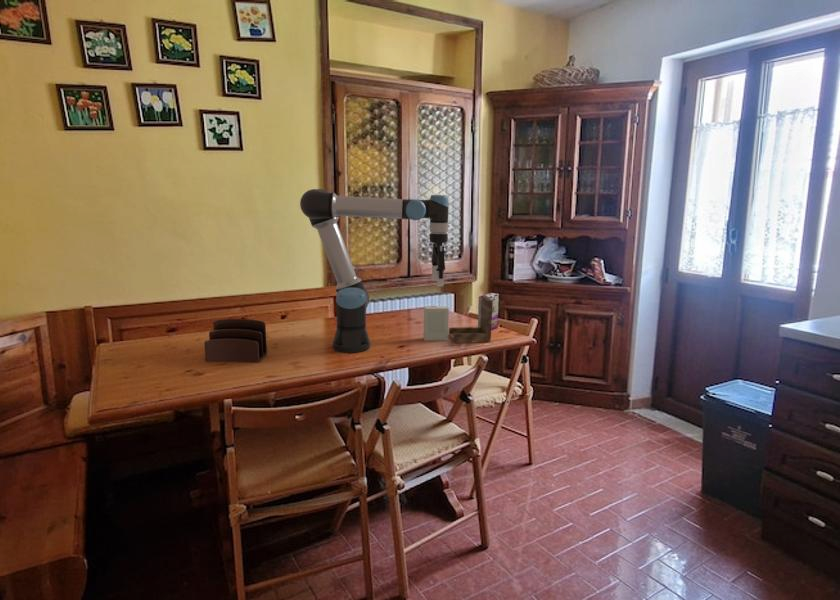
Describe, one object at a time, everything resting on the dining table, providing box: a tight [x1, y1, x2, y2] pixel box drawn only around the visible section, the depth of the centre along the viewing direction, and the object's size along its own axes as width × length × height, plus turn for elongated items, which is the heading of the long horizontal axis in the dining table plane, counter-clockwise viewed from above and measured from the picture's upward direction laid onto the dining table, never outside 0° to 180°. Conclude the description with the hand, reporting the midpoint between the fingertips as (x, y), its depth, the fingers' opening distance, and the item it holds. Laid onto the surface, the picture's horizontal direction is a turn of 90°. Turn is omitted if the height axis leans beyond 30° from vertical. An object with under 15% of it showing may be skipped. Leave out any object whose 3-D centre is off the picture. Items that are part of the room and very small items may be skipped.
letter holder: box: [203, 318, 268, 363], centre depth 188 cm, size 10×20×14 cm, turn 90°
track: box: [448, 295, 493, 343], centre depth 220 cm, size 16×11×18 cm
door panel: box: [422, 306, 450, 342], centre depth 218 cm, size 10×4×14 cm, turn 97°
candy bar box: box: [477, 292, 500, 331], centre depth 236 cm, size 11×5×16 cm, turn 143°
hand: (437, 283), depth 214 cm, fingers open, 13 cm apart
